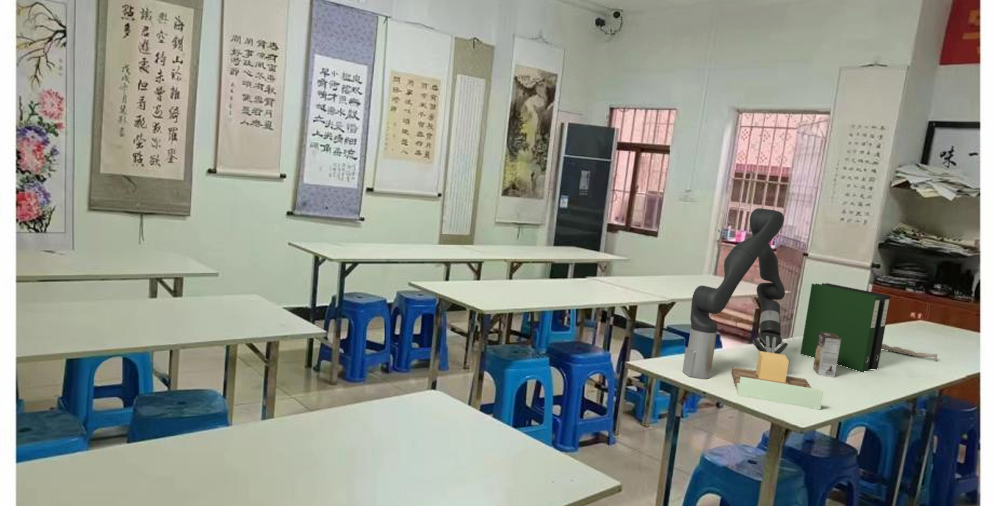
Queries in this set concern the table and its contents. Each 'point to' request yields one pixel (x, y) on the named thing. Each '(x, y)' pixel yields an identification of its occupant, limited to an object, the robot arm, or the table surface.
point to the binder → (847, 323)
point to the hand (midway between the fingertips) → (769, 363)
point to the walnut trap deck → (753, 374)
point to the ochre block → (772, 366)
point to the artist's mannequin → (908, 351)
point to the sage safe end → (779, 392)
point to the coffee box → (827, 354)
